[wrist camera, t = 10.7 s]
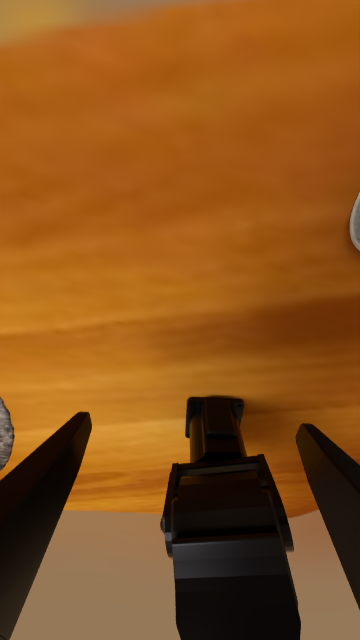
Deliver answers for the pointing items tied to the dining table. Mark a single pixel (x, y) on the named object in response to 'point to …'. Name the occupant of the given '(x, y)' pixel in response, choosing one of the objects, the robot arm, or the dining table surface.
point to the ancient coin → (5, 435)
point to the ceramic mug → (355, 223)
